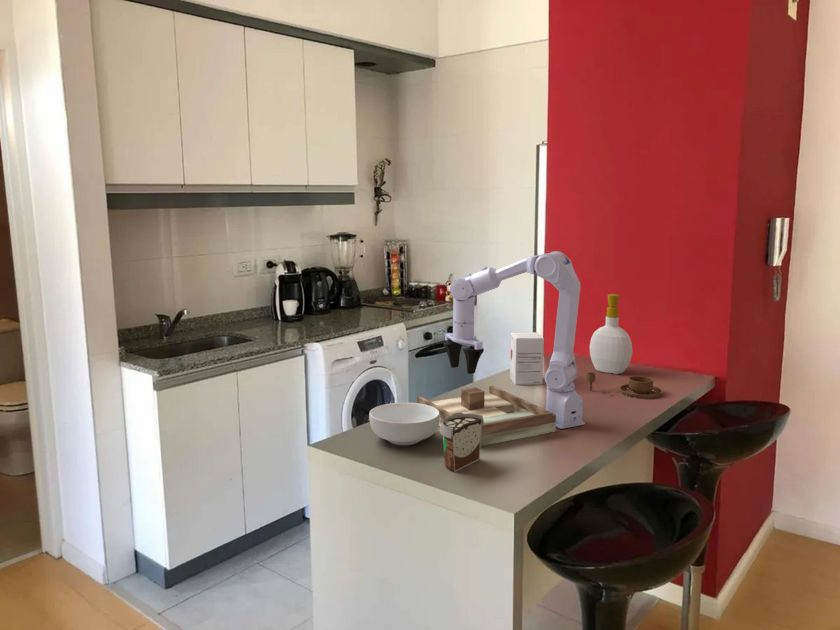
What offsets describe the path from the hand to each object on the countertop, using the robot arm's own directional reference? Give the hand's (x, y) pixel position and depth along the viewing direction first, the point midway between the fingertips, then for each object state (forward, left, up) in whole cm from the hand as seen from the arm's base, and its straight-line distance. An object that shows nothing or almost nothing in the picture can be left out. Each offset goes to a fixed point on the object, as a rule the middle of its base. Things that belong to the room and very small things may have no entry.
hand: (462, 370), depth 191 cm
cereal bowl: (-16, +26, -11) cm, 32 cm away
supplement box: (+14, -31, -11) cm, 36 cm away
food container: (-34, +22, -11) cm, 42 cm away
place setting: (-9, -52, -11) cm, 54 cm away
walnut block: (-8, +2, -8) cm, 11 cm away
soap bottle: (+11, -63, -11) cm, 65 cm away
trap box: (-14, +2, -10) cm, 17 cm away
